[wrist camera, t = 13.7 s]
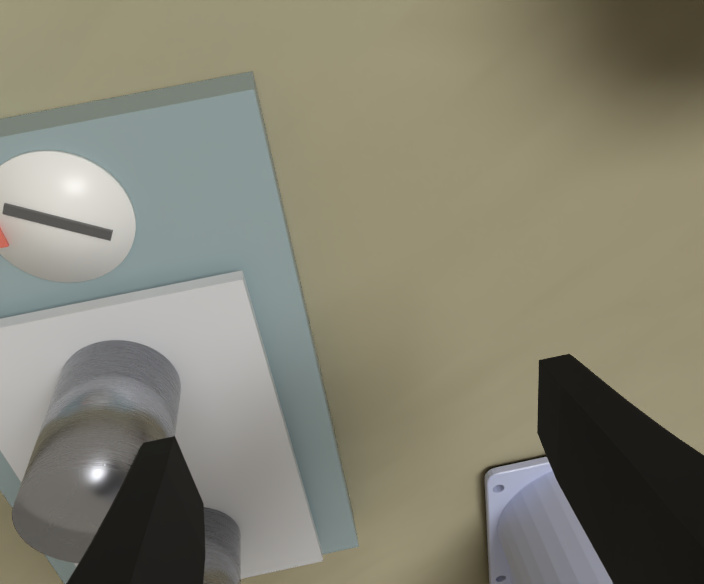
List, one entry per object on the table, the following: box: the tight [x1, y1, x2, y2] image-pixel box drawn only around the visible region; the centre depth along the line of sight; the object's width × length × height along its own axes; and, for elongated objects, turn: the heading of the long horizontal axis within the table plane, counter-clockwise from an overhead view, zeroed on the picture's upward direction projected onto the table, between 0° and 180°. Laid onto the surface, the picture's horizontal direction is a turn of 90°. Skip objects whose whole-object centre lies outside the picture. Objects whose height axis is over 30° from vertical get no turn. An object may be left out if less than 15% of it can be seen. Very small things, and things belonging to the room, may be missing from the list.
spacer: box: [12, 340, 181, 563], centre depth 19 cm, size 4×4×5 cm
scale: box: [0, 71, 359, 584], centre depth 23 cm, size 20×12×3 cm, turn 8°
